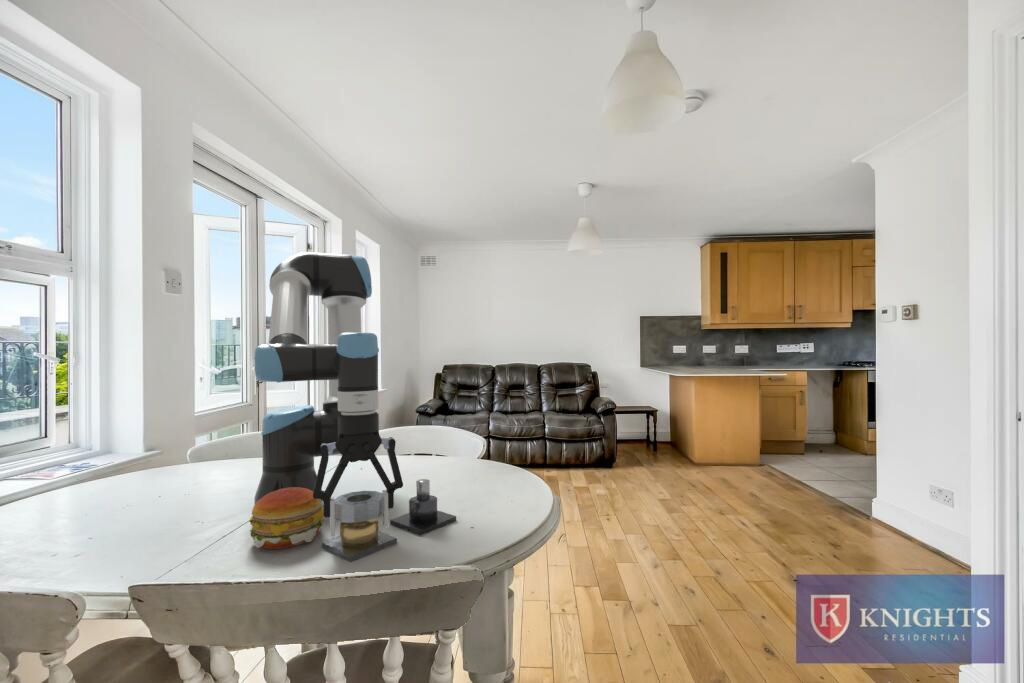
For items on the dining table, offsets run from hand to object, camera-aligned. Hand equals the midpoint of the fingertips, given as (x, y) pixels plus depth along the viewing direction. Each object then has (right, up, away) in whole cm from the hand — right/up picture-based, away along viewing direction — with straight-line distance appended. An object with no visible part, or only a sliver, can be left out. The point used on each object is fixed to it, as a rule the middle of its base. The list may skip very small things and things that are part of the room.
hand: (359, 529), depth 88 cm
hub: (0, -3, 0) cm, 3 cm away
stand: (+10, -3, +11) cm, 15 cm away
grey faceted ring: (0, +3, 0) cm, 3 cm away
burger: (-15, -4, +3) cm, 16 cm away
